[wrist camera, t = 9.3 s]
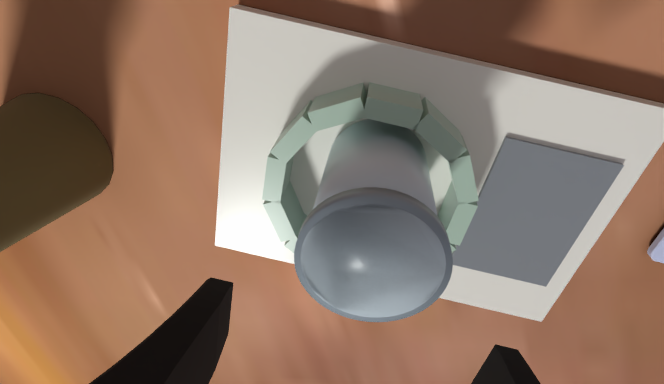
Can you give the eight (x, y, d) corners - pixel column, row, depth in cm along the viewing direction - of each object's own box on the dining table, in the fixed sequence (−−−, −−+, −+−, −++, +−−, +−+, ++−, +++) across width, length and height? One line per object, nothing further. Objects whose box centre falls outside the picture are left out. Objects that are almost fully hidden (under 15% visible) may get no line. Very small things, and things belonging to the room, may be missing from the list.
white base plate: (667, 104, 17) (718, 132, 14) (535, 307, 23) (554, 352, 20) (237, 4, 17) (210, 13, 14) (221, 234, 23) (200, 270, 20)
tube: (448, 131, 17) (480, 224, 11) (409, 221, 20) (418, 337, 14) (339, 100, 17) (313, 177, 11) (313, 194, 20) (280, 299, 14)
